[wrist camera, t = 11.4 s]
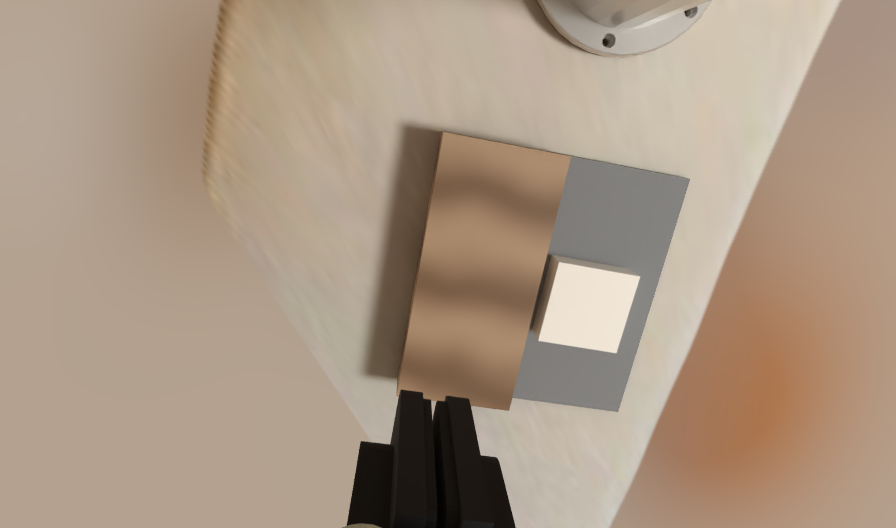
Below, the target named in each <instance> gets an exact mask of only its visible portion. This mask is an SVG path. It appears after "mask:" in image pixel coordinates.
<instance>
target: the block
mask: <svg viewBox="0 0 896 528" xmlns="http://www.w3.org/2000/svg"><path fill="white" fill-rule="evenodd" d="M639 279H640V276H639V275H637V274H636V273H634V272H633V271H631V270H630V269H628V268H623V267H617V266H612V265H606V264H600V263H595V262H589V261H584V260H578V259H573V258H567V257H562V256H556V255H551V259H550V263H549V267H548V270H547V274H546V278H545V282H544V286H543V290H542V293H541V297H540V301H539V305H538V309H537V313H536V316H535V320H534V324H533V328H532V331H533V332H534V334H535V336H536V338H537V339H538V341H543V342H549V343H555V344H561V345H568V346H574V347H580V348H586V349H593V350H599V351H605V352H611V353H617V350H618V346H619V343H620V340H621V337H622V334H623V330H624V327H625V324H626V321H627V318H628V314H629V311H630V308H631V305H632V302H633V298H634V295H635V292H636V289H637V286H638V282H639Z"/></svg>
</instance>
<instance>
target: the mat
mask: <svg viewBox="0 0 896 528" xmlns="http://www.w3.org/2000/svg"><path fill="white" fill-rule="evenodd" d="M567 156H568V155H567ZM689 181H690V179H688V178H683V177H677V176H672V175H667V174H662V173H657V172H651V171H646V170H641V169H636V168H631V167H625V166H620V165H615V164H610V163H604V162H599V161H594V160H589V159H584V158H578V157H573V156H571V160H570V164H569V168H568V172H567V176H566V180H565V184H564V188H563V192H562V196H561V201H560V205H559V209H558V213H557V217H556V221H555V225H554V229H553V233H552V237H551V241H550V245H549V249H548V253H547V258H546V262H545V266H544V270H543V274H542V278H541V282H540V286H539V290H538V294H537V298H536V302H535V306H534V311H533V315H532V319H531V323H530V327H529V331H528V335H527V339H526V343H525V347H524V351H523V355H522V359H521V363H520V368H519V372H518V376H517V380H516V384H515V388H514V392H513V396H512V398H518V399H526V400H533V401H541V402H548V403H556V404H563V405H571V406H578V407H585V408H593V409H600V410H608V411H615V412H618V410H619V407H620V404H621V400H622V397H623V394H624V391H625V388H626V384H627V381H628V378H629V375H630V371H631V368H632V365H633V362H634V358H635V355H636V352H637V349H638V346H639V342H640V339H641V336H642V333H643V329H644V326H645V323H646V320H647V317H648V313H649V310H650V307H651V304H652V300H653V297H654V294H655V291H656V287H657V284H658V281H659V278H660V275H661V271H662V268H663V265H664V262H665V258H666V255H667V252H668V249H669V245H670V242H671V239H672V236H673V233H674V229H675V226H676V223H677V220H678V216H679V213H680V210H681V207H682V204H683V200H684V197H685V194H686V191H687V187H688V184H689ZM551 255H556V256H562V257H567V258H573V259H578V260H584V261H589V262H595V263H600V264H606V265H612V266H617V267H623V268H628V269H630V270H631V271H633V272H634V273H636V274H637V275H639V276H640V279H639V282H638V286H637V289H636V292H635V295H634V298H633V302H632V305H631V308H630V311H629V314H628V318H627V321H626V324H625V327H624V330H623V334H622V337H621V340H620V343H619V346H618V350H617V353H611V352H605V351H599V350H593V349H586V348H580V347H574V346H568V345H561V344H555V343H549V342H543V341H538V339H537V338H536V336H535V334H534V332H533V331H532V328H533V324H534V320H535V316H536V313H537V309H538V305H539V301H540V297H541V293H542V290H543V286H544V282H545V278H546V274H547V270H548V267H549V263H550V259H551Z"/></svg>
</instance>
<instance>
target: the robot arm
mask: <svg viewBox="0 0 896 528" xmlns="http://www.w3.org/2000/svg"><path fill="white" fill-rule="evenodd" d="M537 1H538V3H539V4H540V6H541V8H542V10H543V12H544V14H545V16H546V17H547V19H548V20H549V21H550V22H551V24H552V25H553V26H554V27H555V29H556V30H557V31H558V32H559V33H560V34H561V35H563V36H564V37H565V38H566V39H567V40H569V41H570V42H571V43H572V44H574V45H576V46H578V47H580V48H582V49H584V50H586V51H588V52H591V53H594V54H598V55H602V56H607V57H628V56H634V55H640V54H644V53H647V52H650V51H654V50H656V49H658V48H660V47H662V46H664V45H666V44H668V43H671V42H672V41H674V40H675V39H676V38H678V37H679V36H680V35H682V34H683V33H685V32H686V31H687V30H688V29H689V28H690V27H691V26H692V25H693V24H694V23H695V22H696V21H697V20H698V19H699V18H700V17H701V16H702V14H703V13H704V12H705V10H706V9H707V7H708V6H709V4H710V3H711V1H712V0H537ZM684 11H687V15H686V16H685V14H684ZM603 39H606V40H607V45H606V46H603V44H602V40H603ZM343 528H516V527H515V523H514V519H513V515H512V511H511V507H510V503H509V499H508V495H507V491H506V487H505V483H504V479H503V475H502V471H501V467H500V463H499V461H498V459H497V458H496V457H489V456H481V455H480V450H479V445H478V440H477V435H476V430H475V425H474V420H473V415H472V410H471V405H470V400H469V399H468V398H462V397H454V396H446V398H445V401H438V400H437V402H436V406H435V411H434V416H433V421H432V409H431V400H430V399H423V392H416V391H409V390H400V394H399V399H398V405H397V410H396V416H395V421H394V427H393V432H392V438H391V444H390V445H389V444H381V443H372V442H364V441H361V443H360V449H359V455H358V461H357V467H356V473H355V479H354V486H353V491H352V497H351V503H350V509H349V516H348V522H347V526H345V527H343Z"/></svg>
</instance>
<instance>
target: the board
mask: <svg viewBox="0 0 896 528" xmlns="http://www.w3.org/2000/svg"><path fill="white" fill-rule="evenodd" d="M570 160H571V156H567V155H562V154H558V153H552V152H547V151H542V150H537V149H531V148H526V147H521V146H516V145H511V144H505V143H500V142H495V141H490V140H485V139H479V138H474V137H469V136H464V135H458V134H453V133H448V132H443V131H441V136H440V142H439V148H438V153H437V159H436V165H435V170H434V176H433V182H432V187H431V193H430V199H429V204H428V210H427V216H426V221H425V227H424V233H423V238H422V244H421V249H420V255H419V261H418V266H417V272H416V278H415V283H414V289H413V295H412V300H411V306H410V312H409V317H408V323H407V329H406V334H405V340H404V346H403V351H402V357H401V363H400V368H399V374H398V380H397V396H399V394H400V390H409V391H416V392H423V399H430V400H431V401H437V400H438V401H445V398H446V396H454V397H462V398H468V399H469V400H470V405H471V406H477V407H485V408H492V409H500V410H508V411H509V408H510V404H511V400H512V396H513V392H514V388H515V384H516V380H517V376H518V372H519V368H520V363H521V359H522V355H523V351H524V347H525V343H526V339H527V335H528V331H529V327H530V323H531V319H532V315H533V311H534V306H535V302H536V298H537V294H538V290H539V286H540V282H541V278H542V274H543V270H544V266H545V262H546V258H547V253H548V249H549V245H550V241H551V237H552V233H553V229H554V225H555V221H556V217H557V213H558V209H559V205H560V201H561V196H562V192H563V188H564V184H565V180H566V176H567V172H568V168H569V164H570Z"/></svg>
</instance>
